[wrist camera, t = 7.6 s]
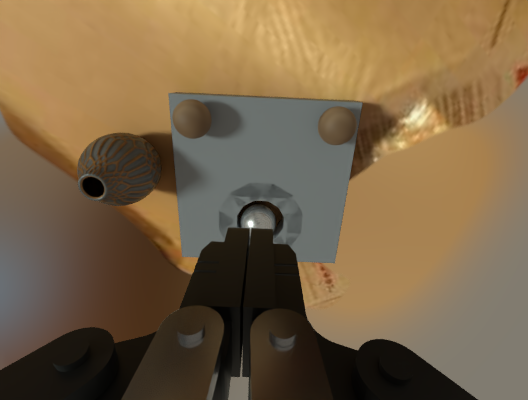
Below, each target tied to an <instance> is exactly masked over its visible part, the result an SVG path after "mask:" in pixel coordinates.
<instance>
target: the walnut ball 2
mask: <svg viewBox="0 0 528 400" xmlns="http://www.w3.org/2000/svg"><path fill="white" fill-rule="evenodd" d="M356 127H357V122H356V118H355V116H354V114H353V113H352V112H351V111H350V110H349V109H347V108H345V107H341V106H336V107H332V108H329V109H328V110H326V111H325V112H324V113H323V114H322V115H321V117H320V119H319V121H318V133H319V135H320V137H321V138H322V140H323V141H325V142H326V143H328V144H330V145H342V144H344V143H346V142H348V141H349V140H350V139H351V138H352V137H353V135H354V134H355V131H356Z"/></svg>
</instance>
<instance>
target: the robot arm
mask: <svg viewBox="0 0 528 400" xmlns="http://www.w3.org/2000/svg"><path fill="white" fill-rule="evenodd" d="M242 346H243V370H242V372H243V373H242V376H243V377H249V396H248V400H478V399H476V398H475V397H473V396H472V395H471V394H469V393H468V392H467V391H465V390H464V389H462V388H461V387H460V386H459V385H457V384H456V383H455V382H453V381H452V380H450V379H449V378H448V377H446V376H445V375H444V374H442V373H441V372H440V371H438V370H436V368H434V367H433V366H431V365H430V364H429V363H427V362H426V361H425V360H423V359H422V358H421V357H419V356H418V355H416V354H415V353H414V352H413V351H411V350H409V349H408V348H407V347H405V346H403V345H401V344H399V343H396V342H393V341H389V340H384V339H375V340H370V341H368V342H366V343H364V344H363V345H362V346H361V347H360V348H359V350H354V349H351V348H348V347H345V346H342V345H339V344H336V343H334V342H331V341H329V340H327V339H325V338H324V337H322V336H321V335H320V334H319V333H317V332H316V331H315V330H314V329H313V327H312V325H311V324H310V322H309V321H308V320H307V316H306V312H305V306H304V300H303V294H302V288H301V281H300V276H299V269H298V263H297V257H296V253H295V252H294V251H293V250H292V248H291V247H290V246H289V245H288V244H273V229H262V228H251V237H250V228H235V227H228V229H227V233H226V237H225V241H224V242H216V241H211V242H210V243H209V244H208V245H207V246H206V247H204V248H203V249H202V250H201V253H200V256H199V258H198V262H197V264H196V266H195V269H194V272H193V274H192V277H191V280H190V283H189V285H188V287H187V290H186V293H185V295H184V298H183V301H182V303H181V306H180V309H179V310H177V311H175V312H173V313H172V314H170V315H169V316H168V317H167V318H166V319H165V320H164V321H163V322H162V323H161V325H160V327H159V329H158V330H157V331H156V332H154V333H152V334H149V335H147V336H143V337H139V338H135V339H131V340H126V341H122V342H118V343H114V340H113V337H112V335H111V334H110V333H109V332H108V331H106V330H104V329H100V328H95V327H90V328H82V329H78V330H74V331H72V332H69V333H67V334H65V335H63V336H61V337H59V338H57V339H55V340H53V341H52V342H50V343H48V344H46V345H45V346H43V347H41V348H39V349H37V350H36V351H34V352H32V353H30V354H29V355H27V356H25V357H23V358H21V359H20V360H18V361H16V362H14V363H12V364H11V365H9V366H7V367H5V368H3V369H2V370H0V400H228V395H229V387H230V379H231V377H240V368H241V357H242Z"/></svg>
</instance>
